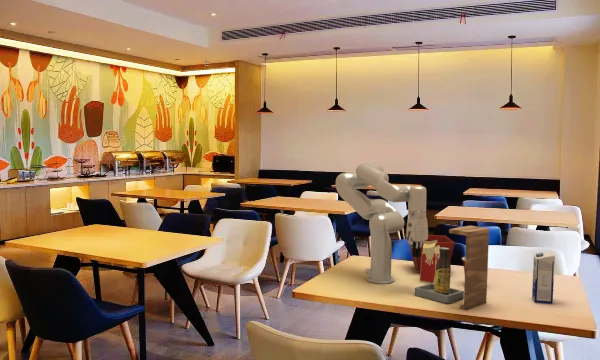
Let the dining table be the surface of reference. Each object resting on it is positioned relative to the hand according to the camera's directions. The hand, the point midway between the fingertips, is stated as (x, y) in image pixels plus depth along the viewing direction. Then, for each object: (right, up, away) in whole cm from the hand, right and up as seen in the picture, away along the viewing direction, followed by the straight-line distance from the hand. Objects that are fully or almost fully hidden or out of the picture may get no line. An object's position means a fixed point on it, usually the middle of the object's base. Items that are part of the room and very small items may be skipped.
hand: (416, 256), depth 225 cm
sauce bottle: (+9, -15, -9) cm, 19 cm away
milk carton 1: (+11, -14, +17) cm, 24 cm away
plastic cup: (+29, -15, +12) cm, 34 cm away
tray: (+8, -16, -8) cm, 19 cm away
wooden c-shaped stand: (+16, -16, -17) cm, 29 cm away
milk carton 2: (+49, -17, -11) cm, 53 cm away
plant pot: (+15, -13, +37) cm, 42 cm away
